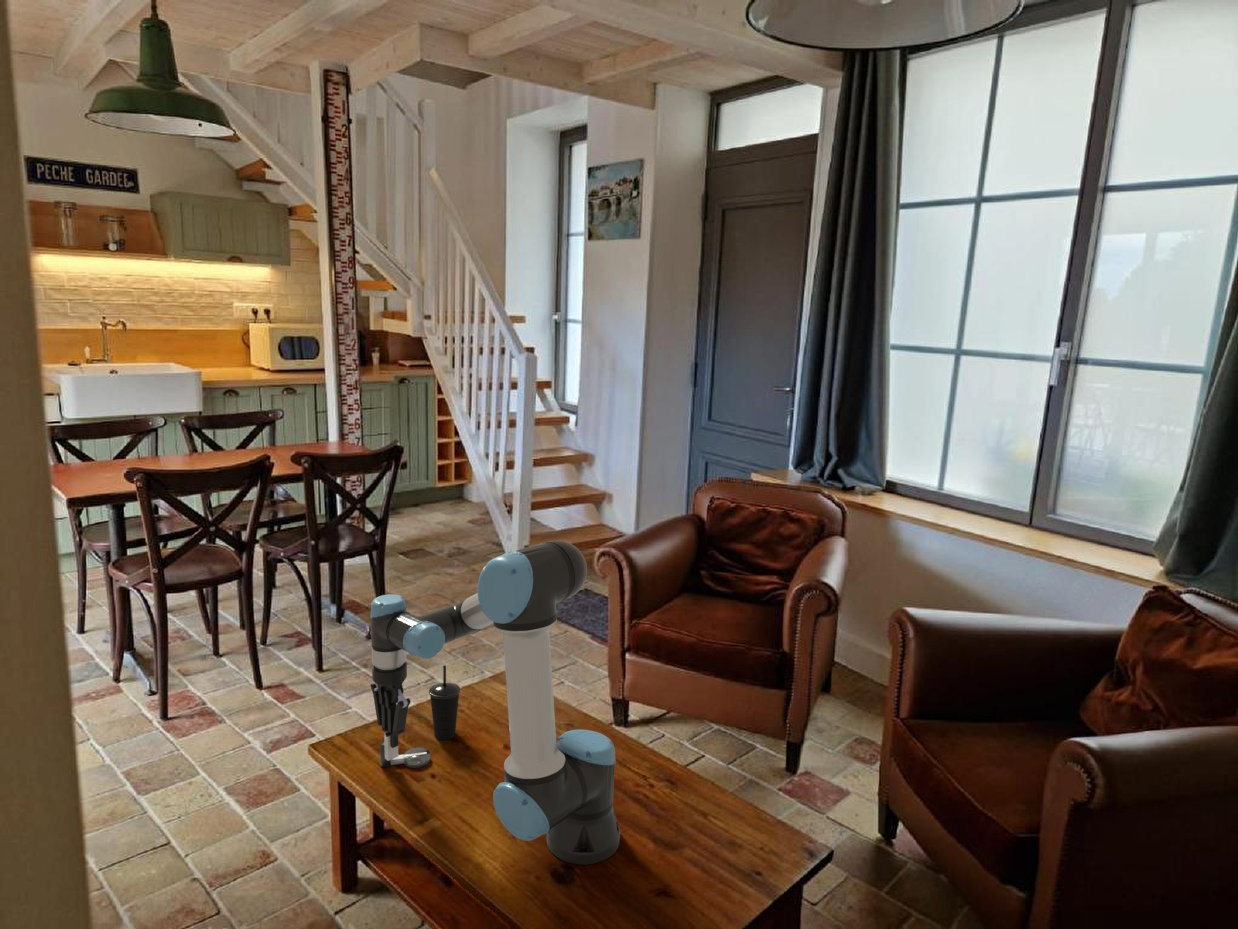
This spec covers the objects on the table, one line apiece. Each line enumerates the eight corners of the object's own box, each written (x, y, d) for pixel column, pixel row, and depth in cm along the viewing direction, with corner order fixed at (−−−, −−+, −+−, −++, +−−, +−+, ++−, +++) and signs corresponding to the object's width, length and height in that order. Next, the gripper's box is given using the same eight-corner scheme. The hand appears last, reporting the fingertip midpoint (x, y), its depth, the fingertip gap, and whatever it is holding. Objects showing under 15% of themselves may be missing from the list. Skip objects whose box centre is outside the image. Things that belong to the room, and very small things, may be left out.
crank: (428, 752, 191) (428, 731, 190) (431, 766, 185) (430, 744, 184) (379, 758, 187) (379, 737, 186) (380, 773, 182) (380, 751, 180)
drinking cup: (426, 735, 201) (425, 661, 197) (456, 729, 204) (456, 657, 200) (432, 750, 194) (432, 675, 190) (463, 744, 197) (463, 670, 193)
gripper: (420, 667, 177) (421, 762, 182) (388, 648, 185) (390, 740, 190) (390, 678, 171) (392, 776, 176) (359, 658, 180) (362, 752, 185)
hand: (391, 757), depth 183 cm, fingers closed
